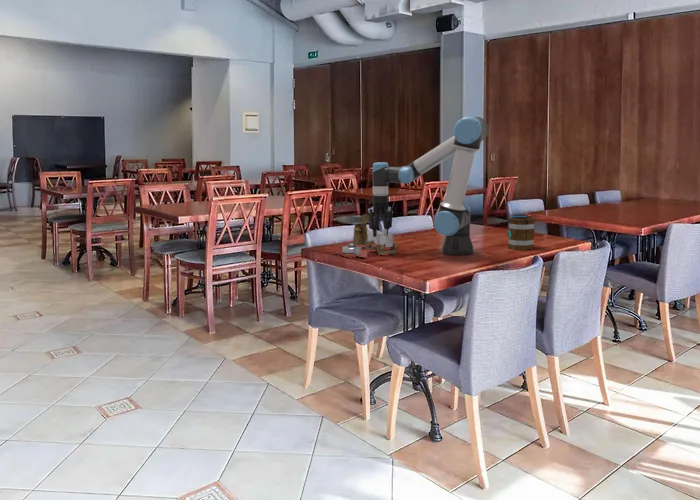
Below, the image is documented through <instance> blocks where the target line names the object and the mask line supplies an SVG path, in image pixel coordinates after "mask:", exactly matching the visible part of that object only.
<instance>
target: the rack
mask: <svg viewBox="0 0 700 500" xmlns="http://www.w3.org/2000/svg"><path fill="white" fill-rule="evenodd" d="M398 244H399V243H395V242H393V247H390V248H387V249H386V247H384V245H381V244H376V245H372V243H371V242H370V241H365V247H364V250H365V249H367V250H377V251H376V254H377V253H378V254H381V255H383V254H394V255H397V254H396V253H398V251H399V248H398ZM384 249H385V250H384ZM398 254H399V253H398Z"/></svg>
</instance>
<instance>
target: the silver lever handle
mask: <svg viewBox="0 0 700 500" xmlns="http://www.w3.org/2000/svg"><path fill="white" fill-rule="evenodd" d="M341 253H344V254H354V255H357V256H360V257H364V258H368V256H367V254H368V252H367V250H365V249H363V248H361V247H360V246H356V244H355V243H353V242H351V243H348V244H347V245H345V246H342V252H341ZM360 257H359V258H360Z"/></svg>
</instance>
